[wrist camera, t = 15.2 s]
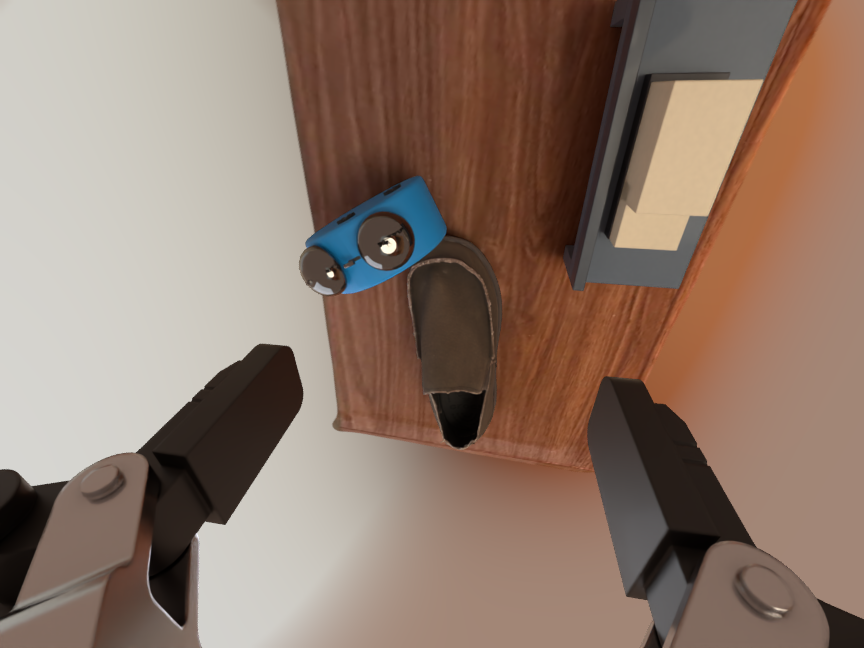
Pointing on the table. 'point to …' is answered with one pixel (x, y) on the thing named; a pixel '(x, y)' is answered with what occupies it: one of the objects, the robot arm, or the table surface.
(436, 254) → the loafer
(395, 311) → the table surface
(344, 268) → the alarm clock
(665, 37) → the grey stand
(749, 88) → the tan stepped block
